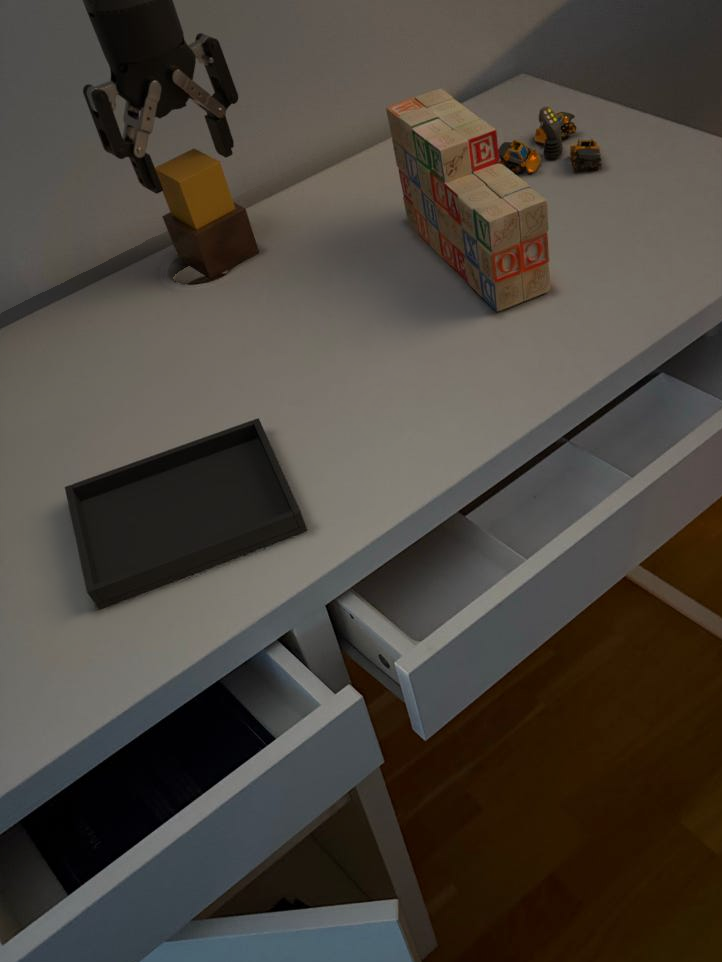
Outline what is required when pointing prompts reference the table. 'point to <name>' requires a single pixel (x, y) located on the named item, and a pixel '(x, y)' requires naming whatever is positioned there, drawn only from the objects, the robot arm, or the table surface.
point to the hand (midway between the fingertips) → (190, 172)
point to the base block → (214, 242)
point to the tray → (180, 512)
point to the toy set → (550, 145)
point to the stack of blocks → (470, 199)
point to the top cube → (195, 188)
